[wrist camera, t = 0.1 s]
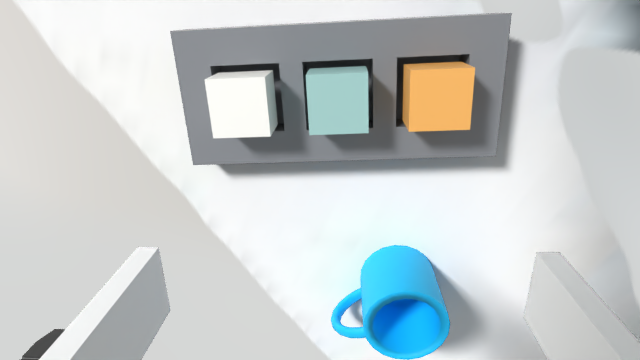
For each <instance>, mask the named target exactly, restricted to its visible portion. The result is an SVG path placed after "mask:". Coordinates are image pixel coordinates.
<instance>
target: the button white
mask: <svg viewBox="0 0 640 360" xmlns="http://www.w3.org/2000/svg"><path fill="white" fill-rule="evenodd" d="M205 87H206V93H207V100H208V107H209V113H210V120H211V127H212V133H213V138H241V137H270V136H271V135H272V133H273V132H274V130H275V128H276V127H277V125H278V121H277V110H276V98H275V87H274V76H273V70H266V71H244V72H222V73H217V74H215V75H213V76H211V77H209V78H207V79H205Z"/></svg>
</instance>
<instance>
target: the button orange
mask: <svg viewBox="0 0 640 360" xmlns="http://www.w3.org/2000/svg"><path fill="white" fill-rule="evenodd" d="M474 76H475V67H473V66H470V65H468V64H466V63H464V62H442V63H420V64H404V74H403V119H402V120H403V122H404V124H405V126H406V127H407V129H408V131H409V132H417V131H447V130H470V124H471V112H472V100H473V88H474Z"/></svg>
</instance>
